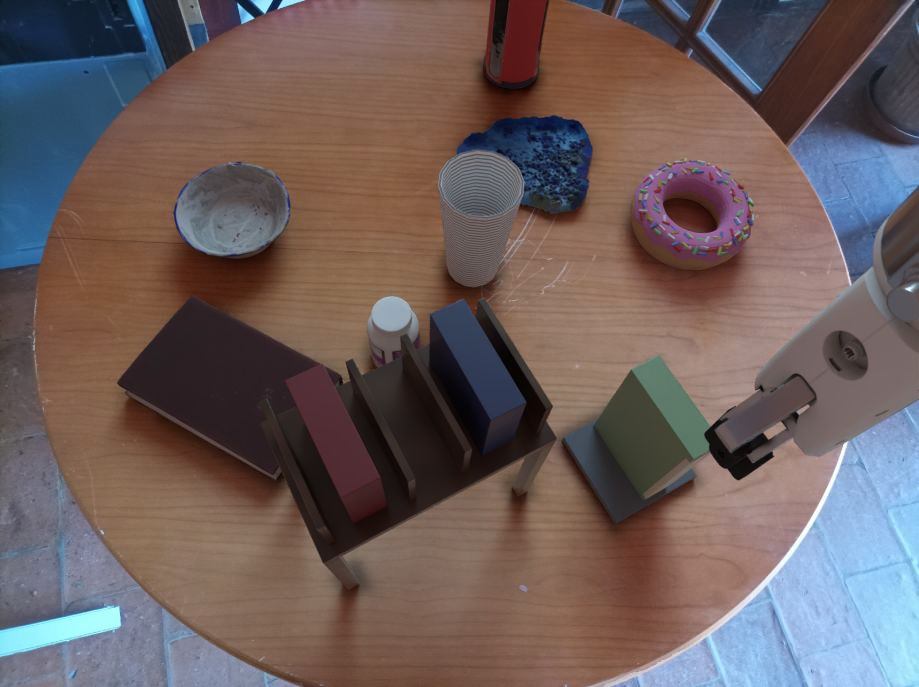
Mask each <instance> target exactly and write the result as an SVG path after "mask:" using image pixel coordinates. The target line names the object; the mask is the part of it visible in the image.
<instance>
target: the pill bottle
mask: <svg viewBox="0 0 919 687" xmlns="http://www.w3.org/2000/svg"><path fill="white" fill-rule="evenodd" d="M370 313H371V314H370V315H369V317H368V320H367V323H366V333H367V337H368V343H369V348H370V353H371V357H372V360H373V362H374V364H375V366H376V367H377V368H378V367H380V366H383V365H385V364H387V363H389V362H391V361H393V360H395V359H397V358H399V357H402V355H401V343H400V336H402V335H404V334H406V333H407V334H408V336H409V338H410V339H411V341H412V343H413V345H414V346H415V348H416V349H419V348H421V336H420V335H421V334H420V330H421V328H420V322H419V318H418V317H417V315H416V313H415V312H414V311H413V310H412V309H411V307H410V305H409V303H408V302H407V301H406V300H405V299H404V298H401V297H398V296H392V295H391V296H385V297H382V298H381V299H379V300H377V302H375V304H374V305H373V307H372V308H371V312H370Z"/></svg>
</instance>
